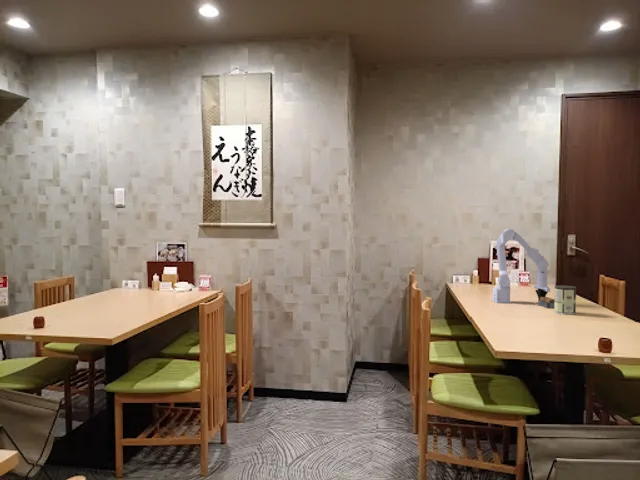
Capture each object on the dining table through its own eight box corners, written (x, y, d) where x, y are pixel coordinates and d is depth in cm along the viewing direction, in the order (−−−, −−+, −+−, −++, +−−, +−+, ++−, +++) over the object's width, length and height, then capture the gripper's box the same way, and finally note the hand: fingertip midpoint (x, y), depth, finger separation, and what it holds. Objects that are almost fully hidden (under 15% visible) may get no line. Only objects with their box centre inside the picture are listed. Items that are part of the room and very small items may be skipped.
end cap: (537, 305, 275) (537, 300, 275) (552, 305, 275) (553, 300, 275) (546, 308, 265) (546, 302, 265) (562, 308, 266) (562, 302, 266)
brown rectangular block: (555, 307, 268) (555, 299, 268) (549, 307, 268) (549, 299, 267) (545, 304, 278) (545, 296, 278) (539, 304, 277) (540, 296, 277)
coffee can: (563, 310, 259) (564, 284, 258) (580, 314, 250) (581, 287, 249) (549, 311, 255) (550, 285, 255) (565, 315, 246) (566, 288, 245)
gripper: (555, 280, 272) (554, 304, 272) (541, 277, 286) (541, 300, 287) (543, 280, 271) (543, 304, 272) (530, 277, 286) (530, 300, 286)
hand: (541, 302), depth 279 cm, fingers closed
